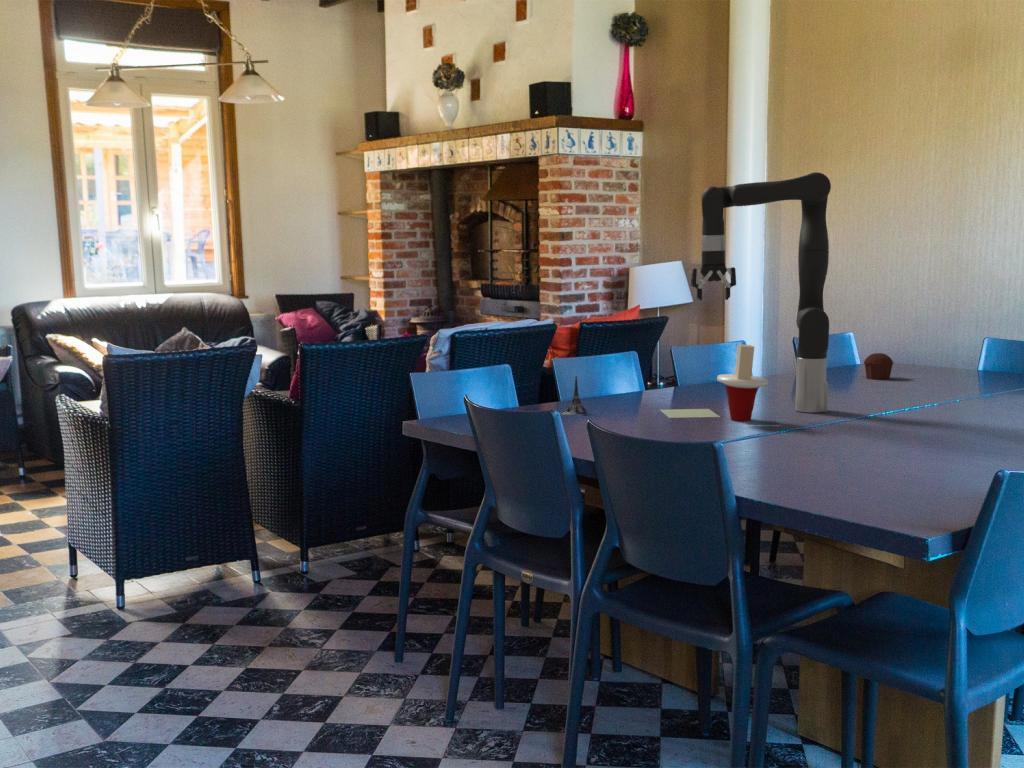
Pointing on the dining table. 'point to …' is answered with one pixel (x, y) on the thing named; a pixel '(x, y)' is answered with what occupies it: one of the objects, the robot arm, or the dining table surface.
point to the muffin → (878, 366)
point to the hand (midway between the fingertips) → (713, 300)
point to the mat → (689, 413)
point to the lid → (743, 370)
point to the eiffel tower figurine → (576, 404)
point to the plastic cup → (740, 401)
